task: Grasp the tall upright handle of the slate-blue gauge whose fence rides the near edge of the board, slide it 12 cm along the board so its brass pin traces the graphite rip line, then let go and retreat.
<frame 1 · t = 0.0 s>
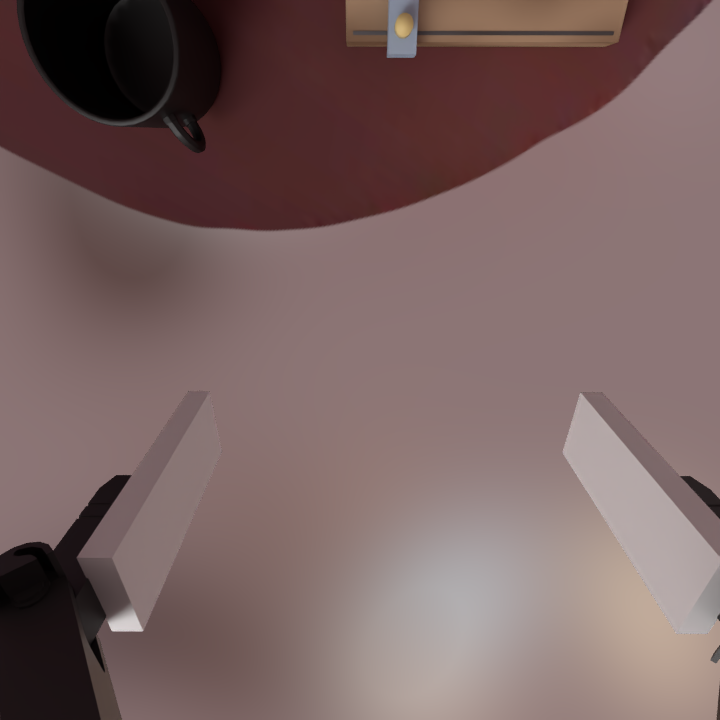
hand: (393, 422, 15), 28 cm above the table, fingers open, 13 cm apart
mug: (173, 77, 34), on the table
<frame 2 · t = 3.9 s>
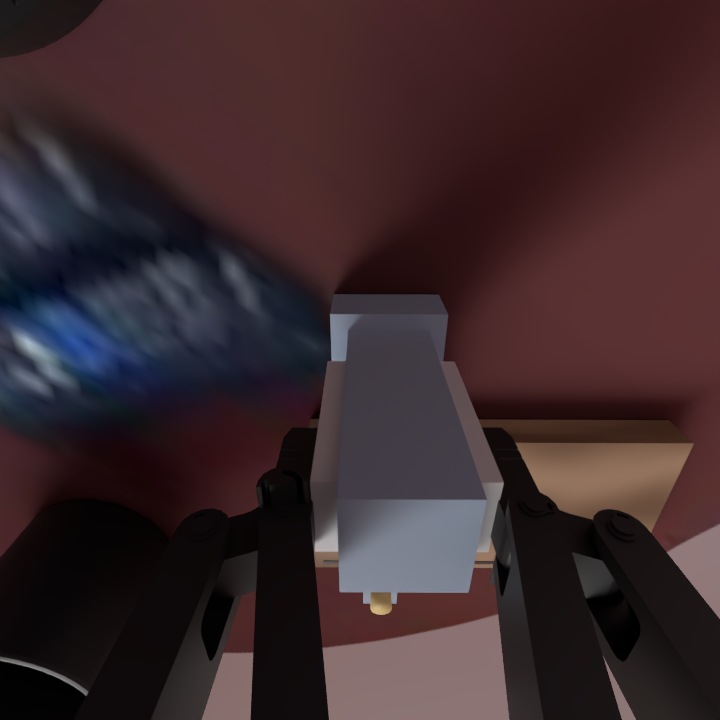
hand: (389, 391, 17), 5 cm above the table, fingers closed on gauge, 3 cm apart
gauge: (386, 531, 19), point 6 cm above the table, slide at 0.0 cm, touching gripper
board: (477, 485, 26), on the table
mug: (120, 555, 29), on the table
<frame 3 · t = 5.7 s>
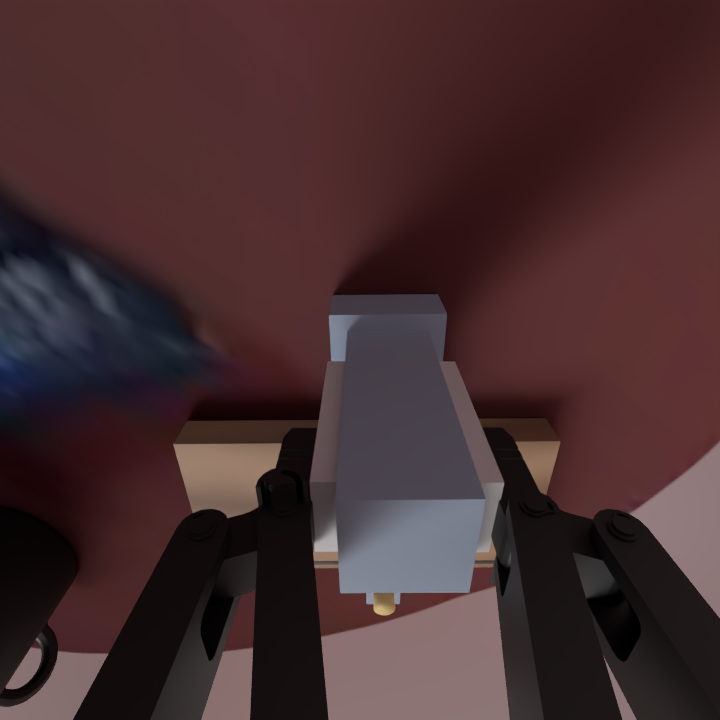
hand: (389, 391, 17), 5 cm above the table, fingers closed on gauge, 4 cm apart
gauge: (388, 531, 19), point 6 cm above the table, slide at 7.0 cm, touching gripper
board: (366, 485, 26), on the table
mug: (25, 558, 30), on the table
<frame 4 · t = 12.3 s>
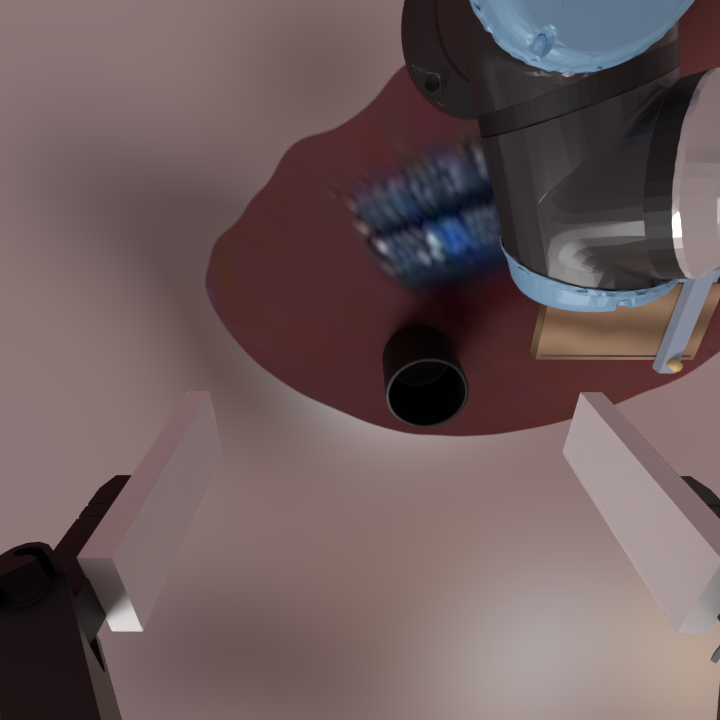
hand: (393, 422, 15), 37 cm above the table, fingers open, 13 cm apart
gauge: (709, 311, 46), point 6 cm above the table, slide at 11.9 cm
board: (617, 316, 53), on the table
mug: (421, 364, 56), on the table
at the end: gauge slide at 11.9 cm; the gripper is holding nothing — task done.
